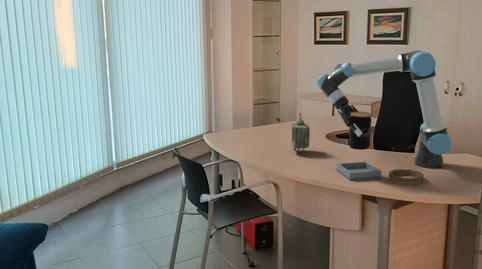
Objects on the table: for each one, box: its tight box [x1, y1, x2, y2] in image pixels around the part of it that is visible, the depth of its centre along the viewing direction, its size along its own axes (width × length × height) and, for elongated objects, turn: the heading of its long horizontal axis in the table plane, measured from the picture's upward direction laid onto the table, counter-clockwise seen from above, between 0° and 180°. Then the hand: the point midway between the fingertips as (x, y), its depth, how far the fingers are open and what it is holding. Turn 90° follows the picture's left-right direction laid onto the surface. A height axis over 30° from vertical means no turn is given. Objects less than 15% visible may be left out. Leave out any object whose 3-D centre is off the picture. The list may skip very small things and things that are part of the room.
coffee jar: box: [348, 111, 373, 151], centre depth 246 cm, size 11×11×18 cm
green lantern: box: [291, 111, 311, 155], centre depth 292 cm, size 14×9×25 cm, turn 1°
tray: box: [336, 161, 382, 182], centre depth 251 cm, size 17×17×4 cm
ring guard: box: [388, 168, 424, 186], centre depth 243 cm, size 16×16×3 cm
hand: (365, 133), depth 245 cm, fingers closed on coffee jar, 11 cm apart
